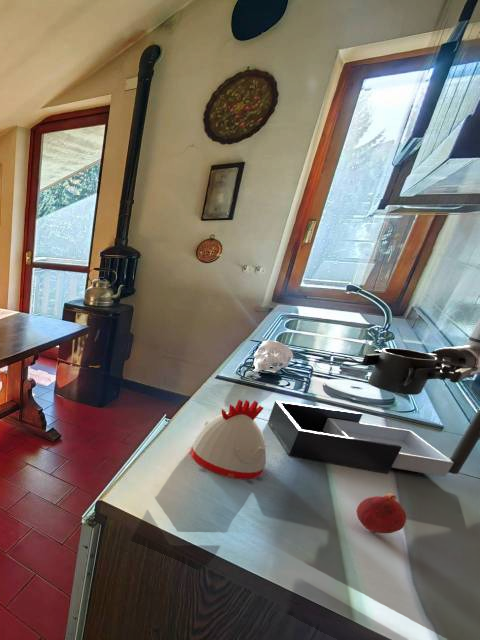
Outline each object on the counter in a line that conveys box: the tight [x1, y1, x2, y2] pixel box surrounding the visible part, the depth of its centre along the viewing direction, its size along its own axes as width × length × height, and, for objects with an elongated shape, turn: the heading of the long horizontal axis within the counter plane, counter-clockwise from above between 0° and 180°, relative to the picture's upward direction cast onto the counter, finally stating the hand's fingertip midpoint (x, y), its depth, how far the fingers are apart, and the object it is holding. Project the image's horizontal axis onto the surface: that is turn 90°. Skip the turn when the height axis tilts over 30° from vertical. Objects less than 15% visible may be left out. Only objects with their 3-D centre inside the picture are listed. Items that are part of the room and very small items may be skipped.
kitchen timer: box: [190, 399, 267, 480], centre depth 85 cm, size 14×14×15 cm
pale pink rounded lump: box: [252, 339, 294, 373], centre depth 143 cm, size 10×14×12 cm
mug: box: [367, 347, 438, 396], centre depth 95 cm, size 9×12×9 cm
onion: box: [355, 492, 407, 534], centre depth 66 cm, size 6×6×8 cm
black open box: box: [267, 400, 402, 475], centre depth 93 cm, size 18×17×7 cm
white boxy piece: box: [323, 408, 480, 477], centre depth 87 cm, size 18×15×15 cm
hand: (389, 367), depth 94 cm, fingers closed on mug, 10 cm apart
